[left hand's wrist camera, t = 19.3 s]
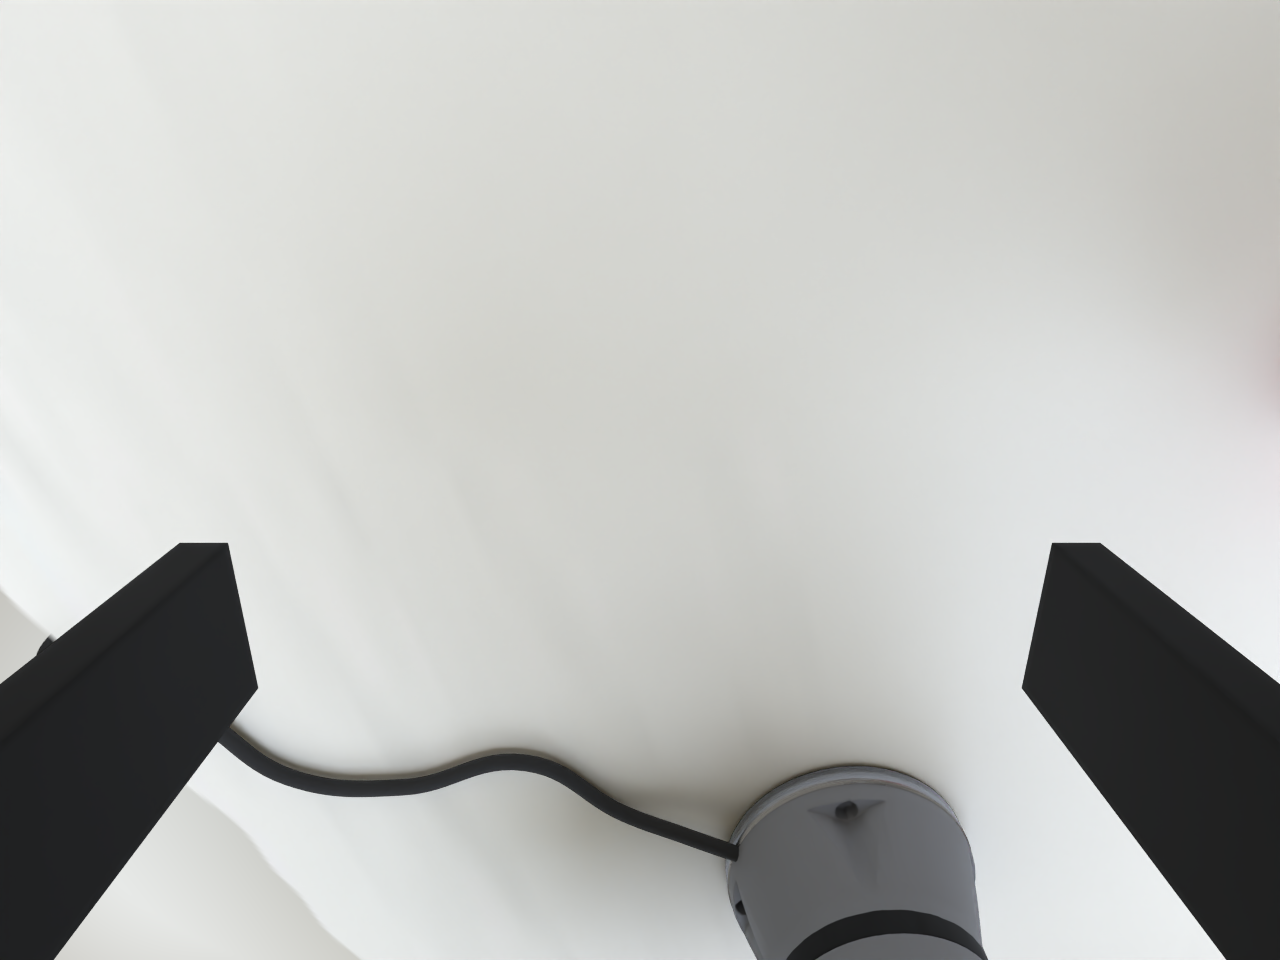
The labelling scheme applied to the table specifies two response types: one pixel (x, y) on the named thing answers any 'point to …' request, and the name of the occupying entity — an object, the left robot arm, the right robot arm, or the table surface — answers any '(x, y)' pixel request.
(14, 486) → the table surface
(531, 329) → the table surface
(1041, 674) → the left robot arm
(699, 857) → the table surface
